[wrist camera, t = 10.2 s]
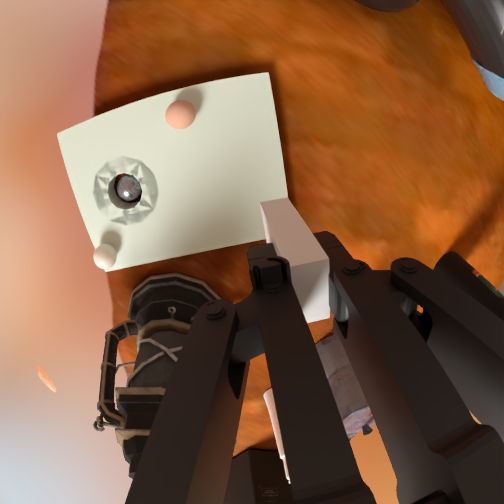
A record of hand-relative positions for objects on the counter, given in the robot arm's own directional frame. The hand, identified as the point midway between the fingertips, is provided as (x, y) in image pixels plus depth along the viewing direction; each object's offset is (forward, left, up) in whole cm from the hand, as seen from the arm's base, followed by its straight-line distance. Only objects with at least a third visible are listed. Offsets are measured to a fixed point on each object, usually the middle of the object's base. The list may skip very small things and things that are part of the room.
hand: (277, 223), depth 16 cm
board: (0, -9, -20) cm, 22 cm away
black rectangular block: (+99, -18, -21) cm, 103 cm away
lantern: (+21, -15, -21) cm, 33 cm away
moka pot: (+38, +10, -21) cm, 44 cm away
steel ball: (0, -15, -19) cm, 24 cm away
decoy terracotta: (-7, -6, -16) cm, 19 cm away
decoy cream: (+7, -20, -16) cm, 27 cm away
